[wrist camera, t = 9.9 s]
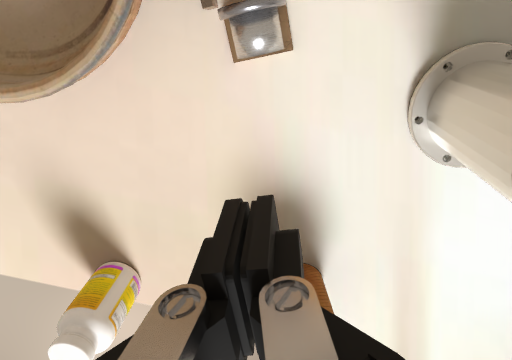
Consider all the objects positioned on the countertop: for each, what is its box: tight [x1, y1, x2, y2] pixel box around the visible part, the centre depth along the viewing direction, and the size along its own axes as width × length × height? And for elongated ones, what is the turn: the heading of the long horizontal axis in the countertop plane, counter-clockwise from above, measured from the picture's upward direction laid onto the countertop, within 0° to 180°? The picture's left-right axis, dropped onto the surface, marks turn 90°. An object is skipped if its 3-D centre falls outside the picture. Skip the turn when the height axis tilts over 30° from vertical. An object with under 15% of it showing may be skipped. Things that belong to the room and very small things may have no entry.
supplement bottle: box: [48, 262, 141, 360], centre depth 43 cm, size 7×7×13 cm
